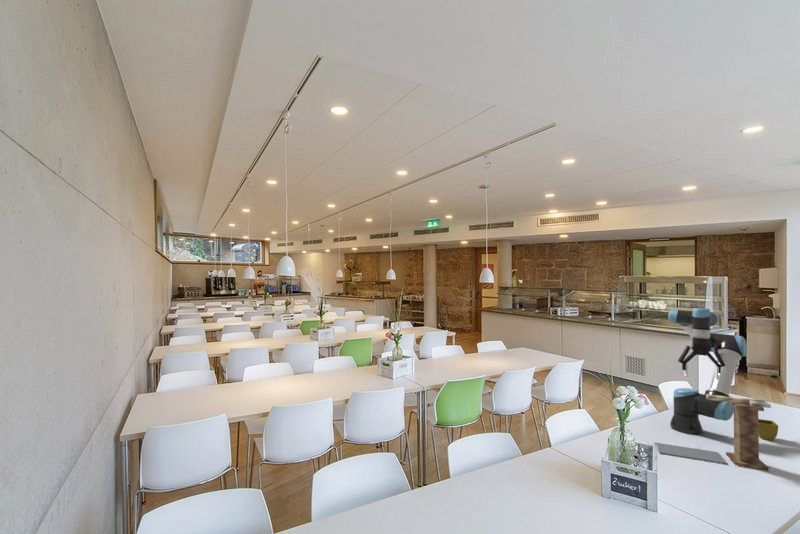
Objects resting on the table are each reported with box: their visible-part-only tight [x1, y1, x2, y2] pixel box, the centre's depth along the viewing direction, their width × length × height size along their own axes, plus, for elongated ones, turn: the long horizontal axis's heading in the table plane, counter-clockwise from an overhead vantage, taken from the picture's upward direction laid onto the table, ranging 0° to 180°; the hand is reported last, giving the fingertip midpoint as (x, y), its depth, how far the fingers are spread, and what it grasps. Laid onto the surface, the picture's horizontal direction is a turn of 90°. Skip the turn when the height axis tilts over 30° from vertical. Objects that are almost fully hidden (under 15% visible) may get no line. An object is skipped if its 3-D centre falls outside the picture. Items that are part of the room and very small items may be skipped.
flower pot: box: [758, 418, 779, 441], centre depth 214 cm, size 9×9×9 cm
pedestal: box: [725, 402, 769, 472], centre depth 185 cm, size 12×12×28 cm
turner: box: [706, 394, 772, 409], centre depth 187 cm, size 23×7×2 cm, turn 66°
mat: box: [654, 441, 728, 465], centre depth 194 cm, size 27×13×1 cm, turn 66°
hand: (701, 378), depth 204 cm, fingers open, 13 cm apart
